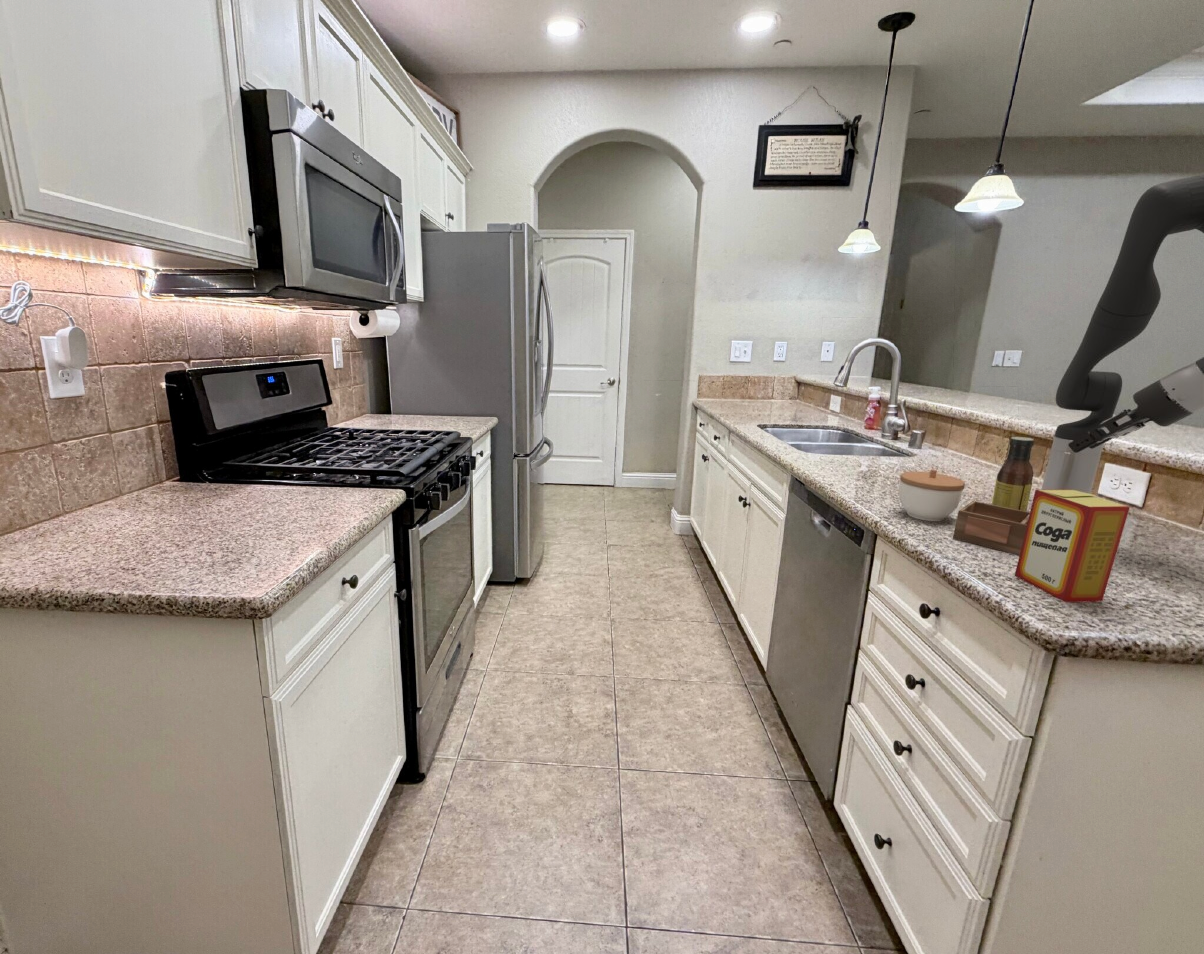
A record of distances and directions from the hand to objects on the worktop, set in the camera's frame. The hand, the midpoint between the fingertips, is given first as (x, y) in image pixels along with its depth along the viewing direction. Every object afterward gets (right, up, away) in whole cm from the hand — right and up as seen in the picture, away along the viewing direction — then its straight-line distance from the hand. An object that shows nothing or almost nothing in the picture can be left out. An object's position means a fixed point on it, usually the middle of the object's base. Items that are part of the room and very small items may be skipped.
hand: (1079, 446), depth 106 cm
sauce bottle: (-6, -17, +13) cm, 22 cm away
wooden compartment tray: (-11, -20, +1) cm, 23 cm away
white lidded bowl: (-20, -15, +18) cm, 31 cm away
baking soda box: (-19, -25, -17) cm, 35 cm away
